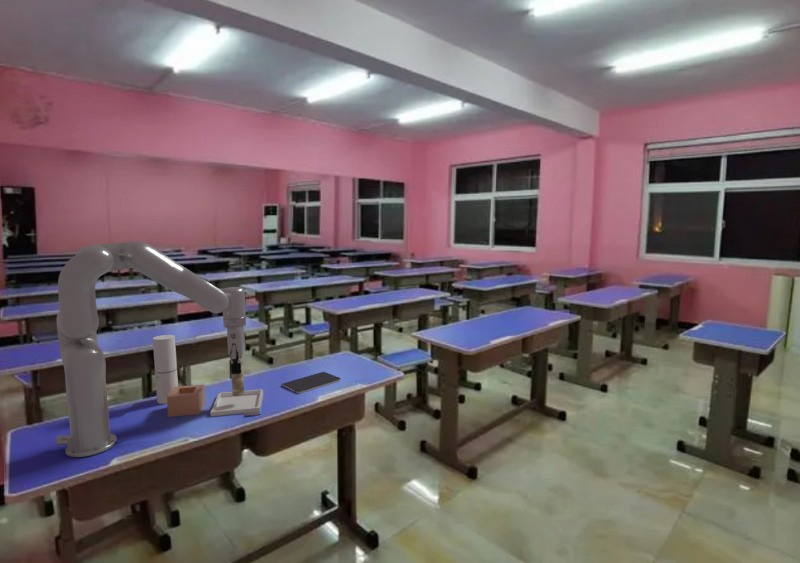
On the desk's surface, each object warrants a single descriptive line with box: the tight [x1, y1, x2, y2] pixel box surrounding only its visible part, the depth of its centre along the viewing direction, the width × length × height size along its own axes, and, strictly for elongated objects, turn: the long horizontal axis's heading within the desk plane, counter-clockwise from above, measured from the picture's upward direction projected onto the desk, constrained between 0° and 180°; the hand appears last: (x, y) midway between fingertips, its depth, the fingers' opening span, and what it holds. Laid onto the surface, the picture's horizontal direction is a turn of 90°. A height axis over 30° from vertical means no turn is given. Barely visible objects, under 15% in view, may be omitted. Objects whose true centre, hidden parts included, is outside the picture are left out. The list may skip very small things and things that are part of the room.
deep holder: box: [166, 384, 206, 418], centre depth 154 cm, size 10×10×8 cm
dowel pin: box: [230, 358, 245, 396], centre depth 159 cm, size 4×4×13 cm
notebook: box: [281, 371, 341, 394], centre depth 184 cm, size 13×2×21 cm
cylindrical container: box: [152, 334, 179, 405], centre depth 162 cm, size 7×7×25 cm
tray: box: [210, 388, 264, 417], centre depth 160 cm, size 16×18×2 cm
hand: (237, 370), depth 158 cm, fingers closed on dowel pin, 4 cm apart
